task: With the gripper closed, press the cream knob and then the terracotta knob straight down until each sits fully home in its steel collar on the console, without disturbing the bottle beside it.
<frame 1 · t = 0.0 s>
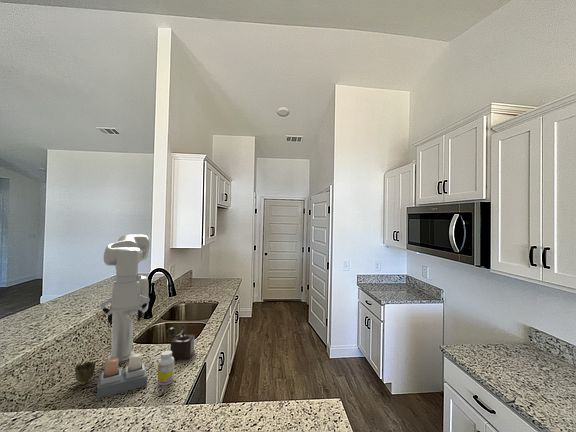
hand: (125, 322, 108), 31 cm above the worktop, tool pointing down, fingers open, 9 cm apart
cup: (84, 384, 119), on the worktop
knob terracotta: (111, 366, 117), point 9 cm above the worktop, slide at 0.0 cm
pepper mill: (180, 358, 144), on the worktop
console: (122, 384, 118), on the worktop
supplement bottle: (165, 382, 121), on the worktop
knob cream: (135, 361, 121), point 9 cm above the worktop, slide at 0.0 cm
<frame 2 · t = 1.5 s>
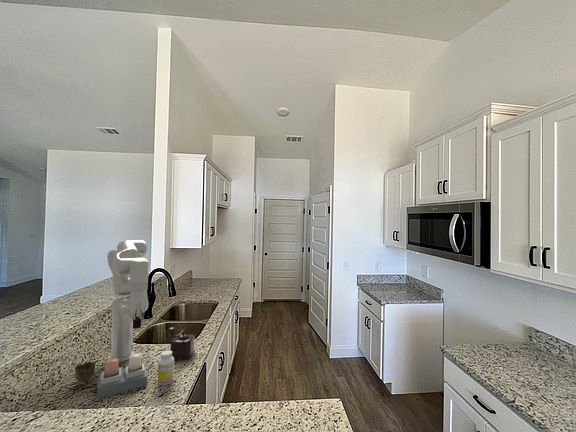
hand: (136, 327, 122), 24 cm above the worktop, tool pointing down, fingers closed
nothing on the worktop moved.
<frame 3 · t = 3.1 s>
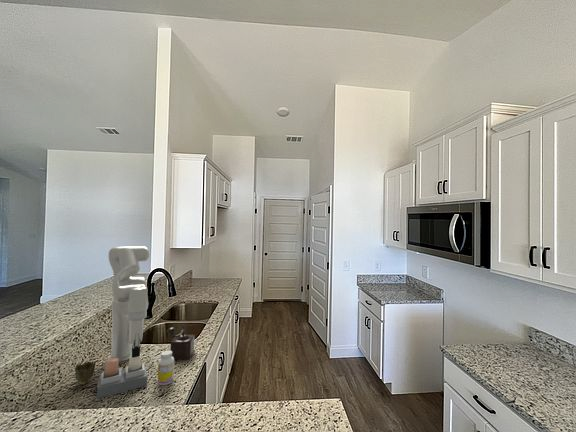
hand: (135, 356, 121), 11 cm above the worktop, tool pointing down, fingers closed
knob cream: (135, 361, 121), point 9 cm above the worktop, slide at -0.1 cm, touching gripper
everything else where it was.
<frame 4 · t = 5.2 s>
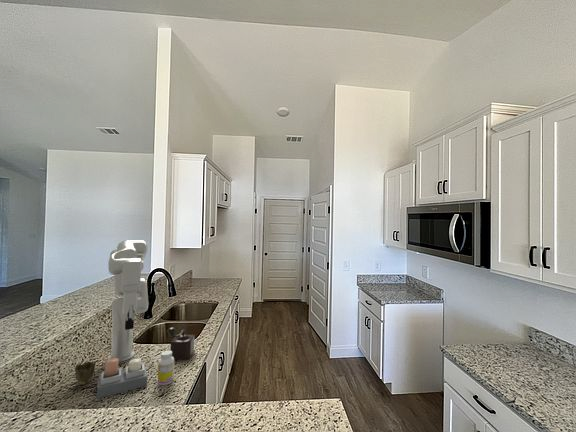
hand: (129, 328, 121), 24 cm above the worktop, tool pointing down, fingers closed
knob cream: (135, 366, 121), point 7 cm above the worktop, slide at -2.3 cm
everything else where it was.
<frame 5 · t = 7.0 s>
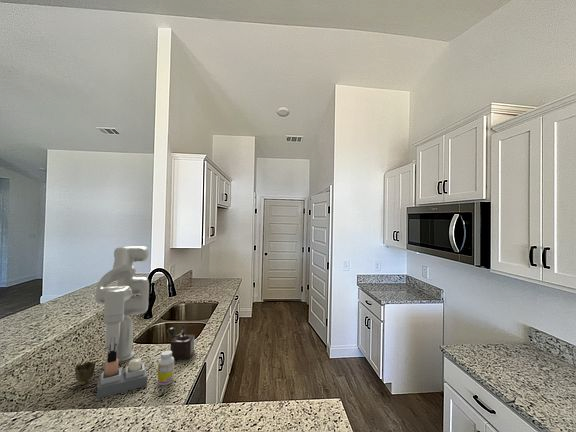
hand: (111, 361, 116), 11 cm above the worktop, tool pointing down, fingers closed
knob terracotta: (111, 366, 117), point 9 cm above the worktop, slide at -0.1 cm, touching gripper
everything else where it was.
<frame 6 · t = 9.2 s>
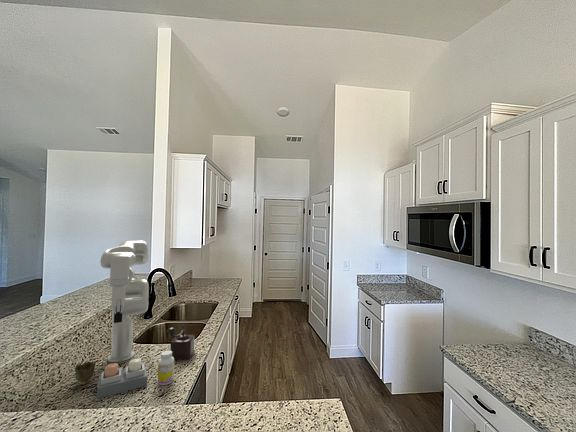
hand: (117, 321, 122), 27 cm above the worktop, tool pointing down, fingers closed
knob terracotta: (111, 371, 116), point 7 cm above the worktop, slide at -2.3 cm
everything else where it was.
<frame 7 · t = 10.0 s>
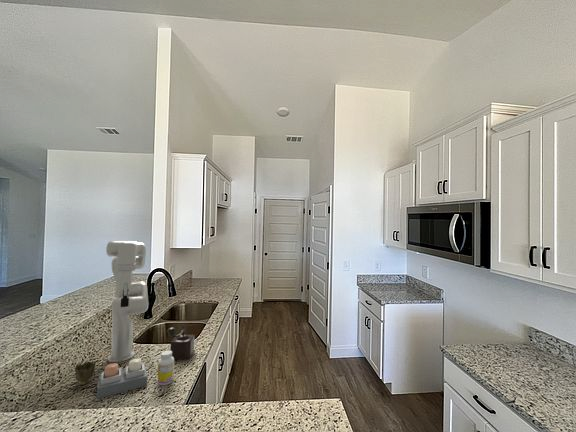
hand: (124, 306, 128), 32 cm above the worktop, tool pointing down, fingers closed
nothing on the worktop moved.
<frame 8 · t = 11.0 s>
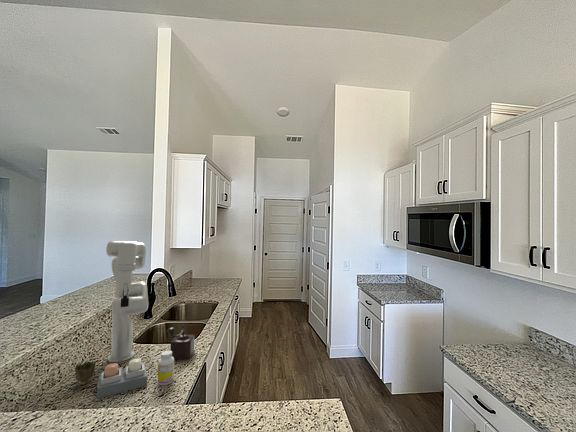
hand: (124, 306, 128), 32 cm above the worktop, tool pointing down, fingers closed
nothing on the worktop moved.
at the end: knob cream slide at -2.3 cm; knob terracotta slide at -2.3 cm; supplement bottle moved 0.2 cm from its start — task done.
